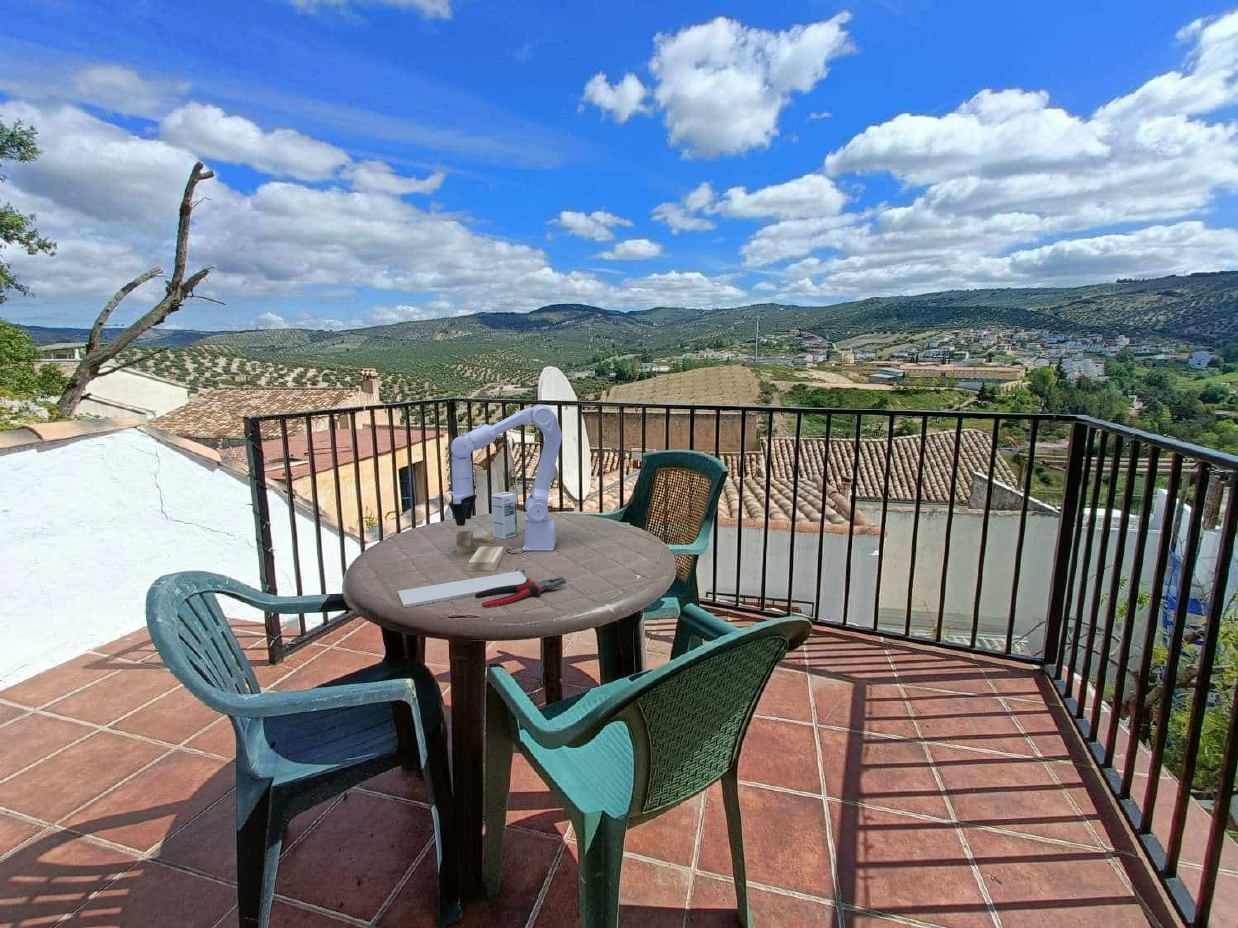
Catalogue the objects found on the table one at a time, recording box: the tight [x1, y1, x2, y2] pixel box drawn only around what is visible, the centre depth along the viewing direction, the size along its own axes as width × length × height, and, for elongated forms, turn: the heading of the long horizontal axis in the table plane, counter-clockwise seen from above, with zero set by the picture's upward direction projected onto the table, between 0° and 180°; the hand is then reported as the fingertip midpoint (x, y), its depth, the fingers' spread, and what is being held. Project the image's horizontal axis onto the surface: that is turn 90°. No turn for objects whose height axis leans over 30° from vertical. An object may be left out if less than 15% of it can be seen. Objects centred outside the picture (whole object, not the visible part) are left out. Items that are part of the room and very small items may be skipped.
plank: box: [468, 546, 505, 572], centre depth 163 cm, size 7×14×2 cm, turn 1°
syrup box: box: [491, 491, 518, 540], centre depth 189 cm, size 6×6×14 cm
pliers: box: [474, 576, 567, 608], centre depth 140 cm, size 3×9×22 cm
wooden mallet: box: [455, 530, 496, 555], centre depth 172 cm, size 11×4×6 cm, turn 91°
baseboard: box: [396, 568, 532, 608], centre depth 144 cm, size 31×3×12 cm
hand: (464, 522), depth 171 cm, fingers open, 7 cm apart
